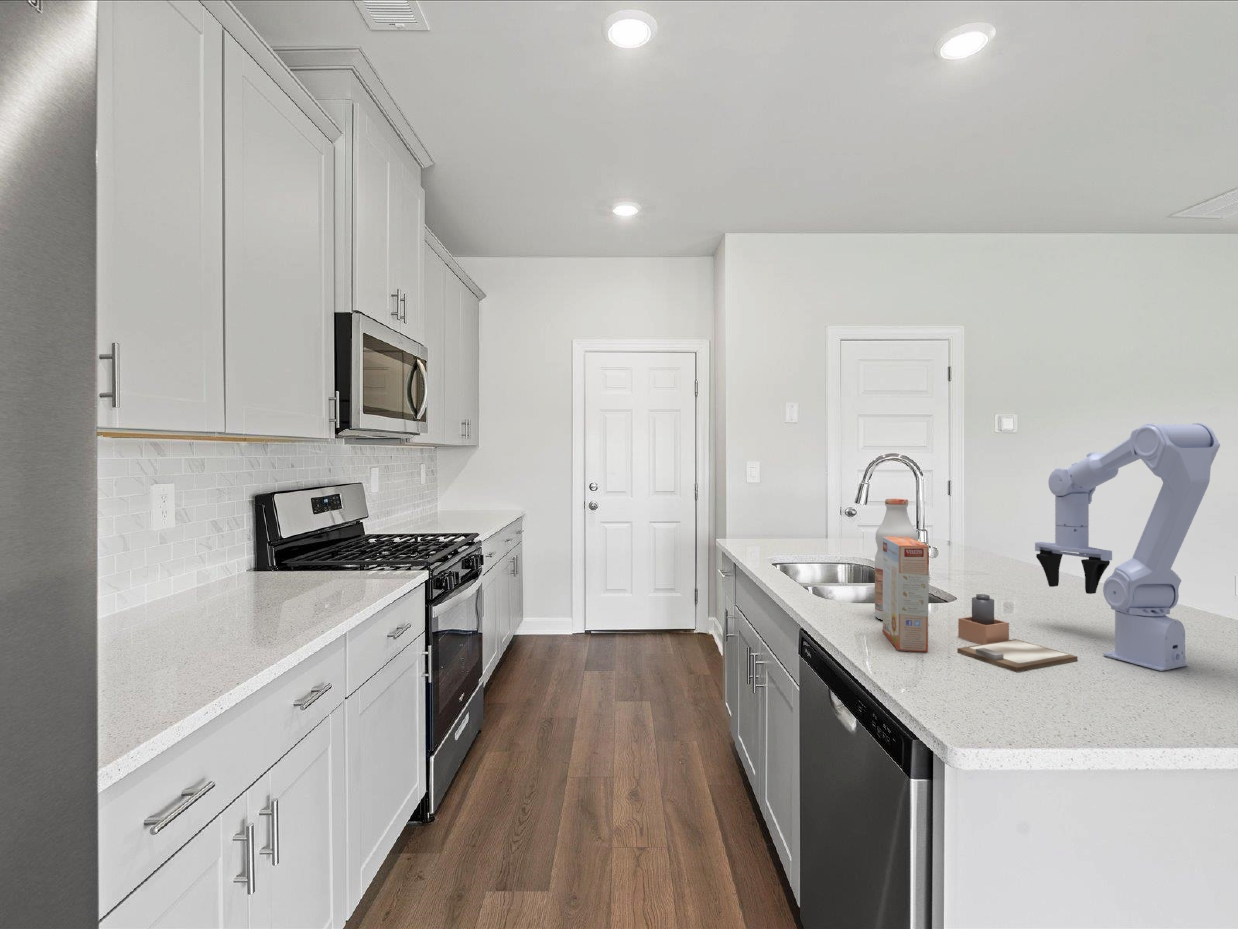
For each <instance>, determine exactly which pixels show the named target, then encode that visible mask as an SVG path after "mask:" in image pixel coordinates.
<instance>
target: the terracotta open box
mask: <svg viewBox="0 0 1238 929" xmlns="http://www.w3.org/2000/svg"><path fill="white" fill-rule="evenodd" d="M957 624H958V625H957V626H958V627H957V628H958V629H957V630H958V632H957V633H958V637H957V638H959V639H962V640H966V641H969V642H972V643H975V644H977V645H981V644H987V643H994V642H1000V641H1006V640H1010V622H1008V621H1004V620H1000V619H996V618H994V624H991V625H983V624H979V623H976V622H972V616H965V617H960V618H959V617H958V623H957Z"/></svg>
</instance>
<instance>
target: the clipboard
mask: <svg viewBox="0 0 1238 929" xmlns="http://www.w3.org/2000/svg"><path fill="white" fill-rule="evenodd" d="M956 650H957V652H956V653H958V654H961V655H964V656H967V657H970V658H973V659H976V660H978V661H982V662H984V663H985V662H986V663H988V664H991V665H995V666H997V667H1001V668H1003V669H1005V670H1009V671H1012V672H1015V673H1021V672H1026V671H1031V670H1035V669H1037V670H1038V669H1041V668H1042V669H1043V668H1047V667H1051V666H1057V665H1062V664H1069V663H1074V662H1078V657H1079V656H1076V655H1073V654H1069V653H1067V652H1064V651H1059V650H1055V649H1052V648H1048V647H1045V646H1042V645H1038V644H1034V643H1031V642H1027V641H1023V640H1020V639H1016V638H1014V639H1013V638H1012V639H1009V640H1006V641H1000V642H994V643H987V644H975V645H970V646H964V647H957V649H956Z"/></svg>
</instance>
